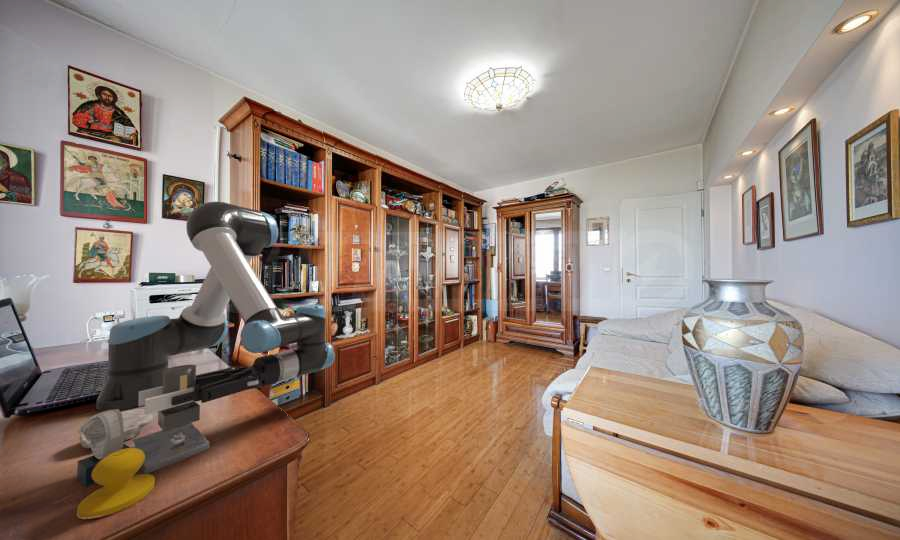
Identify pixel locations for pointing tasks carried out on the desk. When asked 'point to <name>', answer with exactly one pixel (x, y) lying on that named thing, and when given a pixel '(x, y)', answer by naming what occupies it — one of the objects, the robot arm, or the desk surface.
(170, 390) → the cylinder
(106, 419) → the watch
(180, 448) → the hub plate
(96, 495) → the yellow stacked oval discs
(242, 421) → the desk surface
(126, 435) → the fossil
